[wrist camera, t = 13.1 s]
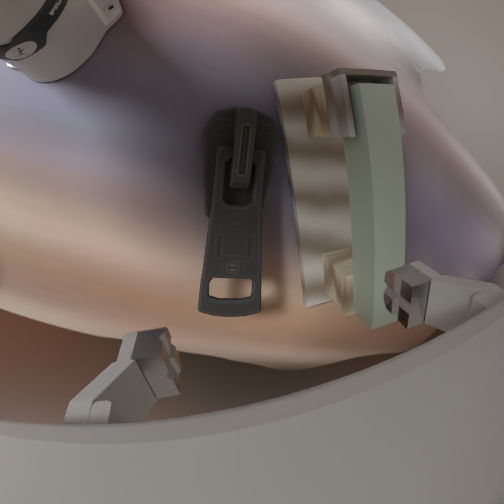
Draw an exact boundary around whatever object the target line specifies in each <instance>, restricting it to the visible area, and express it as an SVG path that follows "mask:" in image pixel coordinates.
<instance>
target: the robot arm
mask: <svg viewBox="0 0 504 504" xmlns="http://www.w3.org/2000/svg"><path fill="white" fill-rule="evenodd" d="M111 7H113V8H112V9H110V8H111ZM109 9H110V10H109ZM122 14H123V10H122V7H121V5H120V2H119V0H0V59H1V60H3V61H5V62H6V65H7V66H8V67H10V68H12V69H17V70H20V71H21V72H22V73H24V74H25V75H26V76H27V77H28V78H29V79H31V80H33V81H36V82H51V81H55V80H58V79H60V78H63V77H65V76H67V75H68V74H70V73H72V72H73V71H74V70H76V69H77V68H78V67H80V66H81V65H82V64H83V63H84V62H85V61H86V60H87V59H88V58H89V57H90V56H91V54H92V53H93V52H94V50H95V49H96V48H97V46H98V44H99V43H100V41H101V39H102V37H103V36H104V34H105V32H106V31H107V30H108V29H109V28H110V27H111V26H112V25H113V24H115V23H116V22H117V21H118V20H119V19H120V17H121V16H122ZM384 282H385V283H386V285H387V287H386V289H385V291H384V303H385V306H386V308H387V310H388V311H389V312H390V313H391V314H393V315H397V316H398V321H399V322H400V323H401V324H402V325H403V326H404V327H405V328H406V329H409V328H411V327H414V326H416V325H419V324H421V323H425V324H427V325H430V326H432V327H435V328H437V329H440V330H442V331H445V332H446V333H444V334H442V335H440V336H438V337H436V338H434V339H432V340H430V341H428V342H426V343H424V344H422V345H420V346H417V347H415V348H413V349H411V350H409V351H407V352H405V353H402V354H400V355H398V356H396V357H393V358H391V359H389V360H386V361H384V362H382V363H379V364H376V365H374V366H372V367H369V368H367V369H364V370H362V371H359V372H356V373H354V374H351V375H348V376H345V377H343V378H340V379H337V380H334V381H331V382H328V383H325V384H322V385H319V386H316V387H313V388H310V389H306V390H303V391H299V392H296V393H293V394H289V395H285V396H282V397H278V398H275V399H271V400H267V401H263V402H259V403H254V404H250V405H245V406H241V407H236V408H232V409H226V410H221V411H216V412H210V413H205V414H199V415H193V416H186V417H180V418H171V419H163V420H154V421H143V420H144V418H145V417H146V415H147V414H148V412H149V411H150V409H151V408H152V406H153V405H154V403H155V402H156V400H157V399H156V398H162V397H168V396H174V395H179V394H180V379H179V377H178V374H179V373H180V360H179V356H178V353H177V350H176V347H175V346H174V345H172V344H171V335H170V333H169V330H168V328H167V327H160V328H155V329H149V330H142V331H136V332H131V333H127V334H125V335H124V338H123V342H122V345H121V348H120V352H119V355H118V359H117V362H114V363H112V364H111V365H110V366H109V367H107V368H106V369H105V370H104V371H103V372H102V373H101V374H100V375H99V376H97V377H96V378H95V379H94V380H93V381H92V382H91V383H90V384H89V385H88V386H86V387H85V388H84V389H83V390H82V391H81V392H80V393H79V394H78V395H77V396H75V397H74V398H73V399H72V400H71V401H70V403H69V406H68V409H67V412H66V415H65V418H64V421H63V424H48V423H32V422H22V421H12V420H4V419H0V504H504V290H503V289H501V288H500V287H498V286H497V285H495V284H494V283H488V282H483V281H477V280H471V279H466V278H460V277H455V276H449V275H444V276H442V275H441V274H439V273H438V272H436V271H434V270H433V269H431V268H430V267H428V266H426V265H425V264H423V263H422V262H420V261H414V262H412V263H409V264H406V265H404V266H401V267H398V268H395V269H392V270H389V271H386V274H385V279H384ZM142 421H143V422H142Z"/></svg>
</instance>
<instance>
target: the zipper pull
mask: <svg viewBox="0 0 504 504" xmlns="http://www.w3.org/2000/svg"><path fill="white" fill-rule="evenodd" d="M203 139H204V178H205V210H206V216H207V217H209V218H210V219H209V226H208V233H207V240H206V247H205V255H204V263H203V270H202V277H201V284H200V293H199V302H198V310H199V312H202V313H206V314H209V315H213V316H222V317H238V316H247V315H251V314H255V313H259V312H260V311H261V229H262V207H263V202H264V198H265V194H266V190H267V185H268V181H269V177H270V172H271V168H272V164H273V159H274V155H275V151H276V147H277V143H278V136H277V132H276V129H275V125H274V122H273V119H272V118H271V117H269V116H266V115H264V114H262V113H260V112H258V111H256V110H254V109H250V108H242V107H235V108H230V109H225V110H221V111H216V112H215V113H214V114H213V116H212V117H211V119H210V121H209V123H208V124H207V126H206V128H205V130H204V133H203ZM212 278H243V279H251V281H252V293H251V296H250V297H245V298H241V299H236V298H216V297H213V296H210V295H209V282H210V281H211V280H212Z"/></svg>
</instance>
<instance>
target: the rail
mask: <svg viewBox="0 0 504 504" xmlns="http://www.w3.org/2000/svg"><path fill="white" fill-rule="evenodd" d="M348 90H349V96H350V102H351V108H352V114H353V121H354V128H355V135H356V137H343V143H344V151H345V160H346V169H347V178H348V189H349V201H350V215H351V231H352V254H353V309H354V311H355V312H356V313H357V314H358V315H359V316H360V317H361V318H362V320H363V321H364V322H365V323H366V324H367V325H368V326H369V328H370V329H371V330H374V329H377V328H380V327H382V326H385V325H387V324H390V323H393V322H395V321H398V316H397V315H393V314H391V313H390V312H389V311H388V310H387V308H386V306H385V303H384V291H385V289H386V287H387V285H386V283H385V282H384V279H385V274H386V271H389V270H392V269H395V268H398V267H401V266H404V265H405V240H406V200H405V175H404V160H403V148H402V138H401V129H400V121H399V113H398V106H397V100H396V94H395V88H394V85H392V84H374V83H358V84H355V85H351V86H348Z"/></svg>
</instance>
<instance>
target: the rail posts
mask: <svg viewBox="0 0 504 504" xmlns="http://www.w3.org/2000/svg"><path fill="white" fill-rule="evenodd" d="M358 83H374V84H392V85H394V88H395V94H396V100H397V106H398V113H399V121H400V129H401V134H405V125H404V117H403V110H402V103H401V97H400V91H399V85H398V80H397V74H396V72H395V71H384V70H370V69H348V68H338V69H336V70H334V71H332V72H330V73H328V74H326V75H323V76H321V77H312V78H292V79H279V80H275V81H274V82H273V85H274V91H275V96H276V102H277V107H278V113H279V119H280V125H281V131H282V137H283V143H284V149H285V156H286V162H287V169H288V175H289V182H290V189H291V197H292V204H293V211H294V219H295V227H296V235H297V243H298V252H299V260H300V269H301V279H302V288H303V299H304V303H305V305H306V306H307V307H310V306H314V305H317V304H321V303H324V302H328V301H331V300H333V301H334V303H335V304H336V305H337V306H338V307H339V309H340V310H341V311H342V312H343V314H344V315H345V316H346V317H349V316H352V315H355V314H357V313H356V312H355V311H354V309H353V254H352V231H351V215H350V201H349V189H348V178H347V169H346V160H345V151H344V143H343V137H356V135H355V128H354V121H353V114H352V108H351V102H350V96H349V90H348V86H351V85H355V84H358Z"/></svg>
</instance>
